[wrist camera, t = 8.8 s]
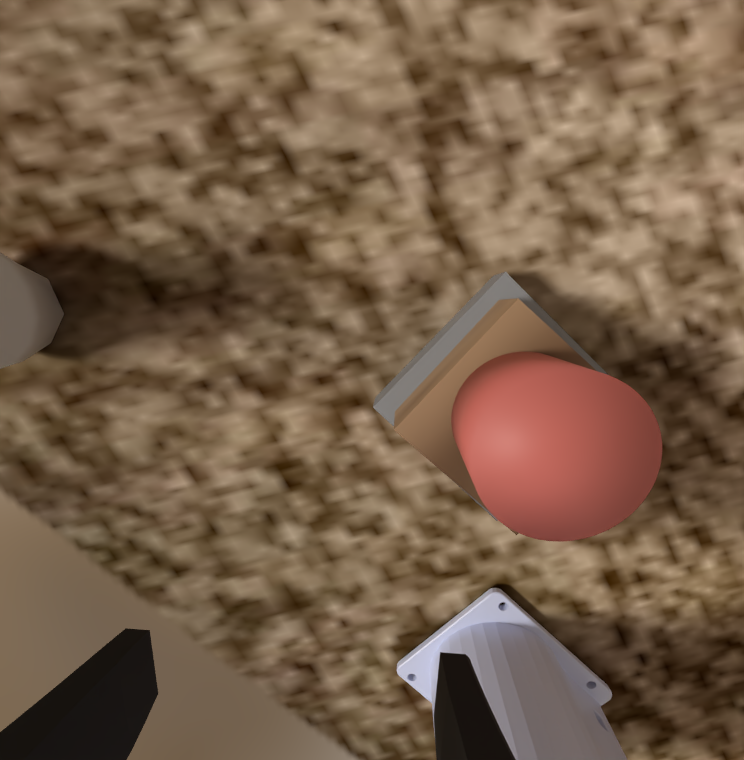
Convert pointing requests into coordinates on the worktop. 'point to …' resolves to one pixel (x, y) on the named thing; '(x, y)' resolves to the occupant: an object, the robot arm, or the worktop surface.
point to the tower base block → (453, 334)
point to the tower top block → (438, 391)
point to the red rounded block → (555, 445)
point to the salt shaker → (25, 312)
